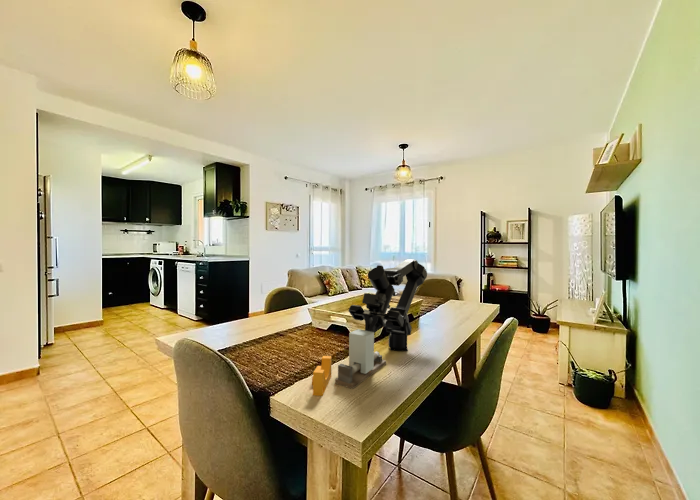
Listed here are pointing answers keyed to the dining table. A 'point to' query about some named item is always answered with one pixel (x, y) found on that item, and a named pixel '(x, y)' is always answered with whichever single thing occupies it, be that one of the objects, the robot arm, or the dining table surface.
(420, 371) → the dining table surface
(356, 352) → the sleeve
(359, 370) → the pipe rig
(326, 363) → the pipe clamp
